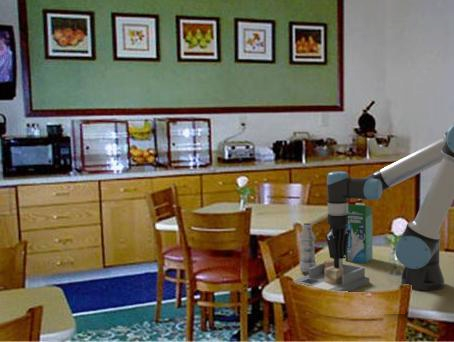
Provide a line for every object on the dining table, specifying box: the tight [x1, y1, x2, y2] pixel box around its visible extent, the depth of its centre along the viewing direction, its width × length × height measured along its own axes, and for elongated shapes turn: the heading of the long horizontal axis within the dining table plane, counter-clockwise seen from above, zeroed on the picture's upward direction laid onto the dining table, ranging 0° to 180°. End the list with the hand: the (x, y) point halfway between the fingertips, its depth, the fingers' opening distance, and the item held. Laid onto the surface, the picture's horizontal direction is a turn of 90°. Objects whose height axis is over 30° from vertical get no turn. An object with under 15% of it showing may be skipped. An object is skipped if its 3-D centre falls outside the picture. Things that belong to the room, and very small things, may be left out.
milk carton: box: [345, 202, 373, 264], centre depth 252 cm, size 9×9×25 cm
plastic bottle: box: [298, 222, 317, 274], centre depth 234 cm, size 6×7×20 cm
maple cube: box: [324, 266, 344, 285], centre depth 215 cm, size 5×5×5 cm
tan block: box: [324, 260, 334, 269], centre depth 225 cm, size 4×4×5 cm
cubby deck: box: [293, 262, 370, 292], centre depth 218 cm, size 20×22×6 cm
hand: (338, 275), depth 218 cm, fingers closed
